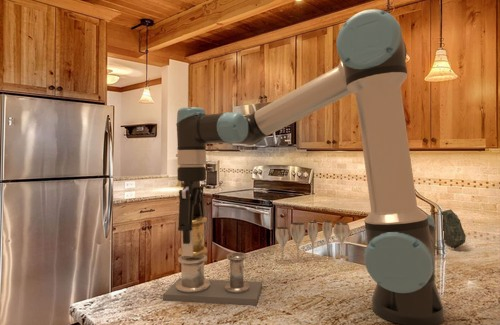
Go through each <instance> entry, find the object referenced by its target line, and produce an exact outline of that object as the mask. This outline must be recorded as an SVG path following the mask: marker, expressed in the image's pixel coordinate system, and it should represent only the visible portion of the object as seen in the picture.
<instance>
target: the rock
mask: <svg viewBox="0 0 500 325" xmlns="http://www.w3.org/2000/svg"><path fill="white" fill-rule="evenodd" d="M441 213H442V215H443V231H444V239H443V241H444V242H445V243H446V244H447V245H448V246H449V247H451V248H458V247H460V246H462V245H463V244H465V243H466V238H467V237H466V236H467V235H466V233H465V231H464V228H463V227H462V223H461V219H460V218H459V216H458V215H457V214H456V213H455V212H454V211H453V210H452V209H448V210H446V209H445V210H443V211H442V212H441Z"/></svg>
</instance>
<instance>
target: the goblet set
mask: <svg viewBox="0 0 500 325" xmlns="http://www.w3.org/2000/svg"><path fill="white" fill-rule="evenodd" d="M332 223H333V222H332V221H330V220H329V221H328V220H326V221H325V220H324V221H322V226H321V227H322V229H321V230H322V233H323V237H324V238H325V241H326V242H325V243H326V256H322V257H321V259H323V260H326V261H331V260H333V259H334V257H335V258H336V259H340V260H341V259H342V260H343V259H344V260H346V259H349V256H347V255H345V254H343V244H344V241H345V240H346V239H347V238H348V237H349V235H350V233H351V229H350V228H351V227H350V225H349V223H347V222H336V223H334V226H333V224H332ZM332 233H333V234H334V236H335V237H336V238H337V239H338V240H339V243H340V247H341V248H340V249H341V250H340V254H337V255H335V256H334V257H332V256H329V242H330V239H331V236H332ZM318 234H319V224H318V222H317V221H313V220H312V221H308V222H307V235H308V237H309V239H310V242H311V247H312V248H311V249H312V252H311V253H312V255H311V257H308V258H307V259H306V260H307V261H309V262H318V261H319V258H316V257H314V249H315V248H314V246H315V245H314V244H315V241H316V239H317V237H318ZM305 235H306V224H305V223H304V222H290V228H289V227H287V226H277V227H276V228H275V239H276V241H277V243H278V244H279V246H280V248H281V260H280V259H279V260H276V262H275V263H276V264H277V265H288V264H290V262H289V261H288V260H284V251H285V250H284V248H285V246H286V244H287V243H288V241H289V239H290V236H291V238H292V240H293V241H294V243H295V245H296V248H297V249H296V251H297V252H296V253H297V258H293V259H291V262H292V263H294V264H302V263H305V262H306V261H305V260H304V259H302V258H300V257H299V256H300V255H299V250H300V244H301V243H302V241H303V239H304V238H305Z"/></svg>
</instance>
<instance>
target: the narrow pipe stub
mask: <svg viewBox="0 0 500 325" xmlns="http://www.w3.org/2000/svg"><path fill="white" fill-rule="evenodd" d="M226 259H227V260H228V261H229V280H230V283H227V284H226V285H225V291H226V292H228V293H233V294H239V293H244V292H247V291H248V290H249V285H248V284H247V283H245V282H244V281H245V280H244V277H245V274H244V273H245V272H244V268H245V266H244V260H246V259H247V254H246V253H245V252H239V251H238V252H230V253H227V255H226Z"/></svg>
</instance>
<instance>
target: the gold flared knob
mask: <svg viewBox="0 0 500 325" xmlns="http://www.w3.org/2000/svg"><path fill="white" fill-rule="evenodd" d="M207 219H208V217H206V216H204V217H201V216H193V220H192V230H193V256H198V255H202V254H205V255H206V254H207V253H208V247H207V246H205V224H206V222H207V221H208V220H207ZM177 223H178V224H179V218H178V219H177ZM204 223H205V224H204ZM180 235H181V236H180V240H181V241H180V242H181V247H179V249H178V252H177V253H178V255H180V256H181V255H182V231H180Z"/></svg>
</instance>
